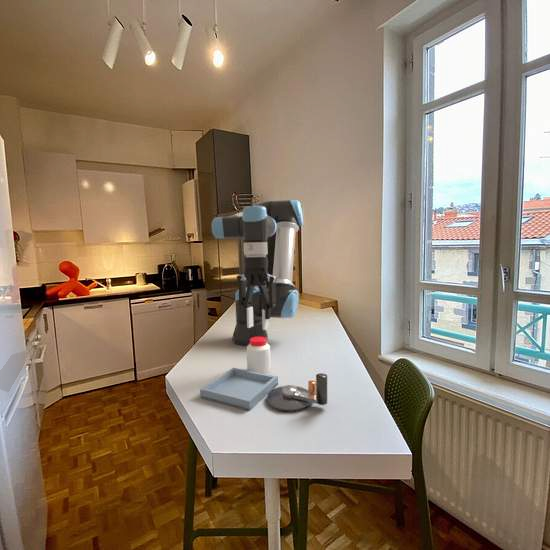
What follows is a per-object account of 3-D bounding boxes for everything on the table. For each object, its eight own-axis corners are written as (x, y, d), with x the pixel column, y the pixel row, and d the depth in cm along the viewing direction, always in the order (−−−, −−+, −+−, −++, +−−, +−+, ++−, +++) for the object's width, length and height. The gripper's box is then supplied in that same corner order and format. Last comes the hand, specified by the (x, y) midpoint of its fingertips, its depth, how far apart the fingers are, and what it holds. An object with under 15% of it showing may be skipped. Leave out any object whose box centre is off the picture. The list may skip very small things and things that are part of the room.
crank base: (259, 405, 82) (258, 386, 81) (279, 386, 92) (279, 369, 92) (304, 417, 76) (304, 396, 75) (320, 395, 87) (320, 377, 86)
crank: (279, 396, 83) (279, 371, 82) (286, 390, 87) (285, 365, 86) (324, 407, 78) (324, 379, 77) (329, 399, 81) (329, 373, 80)
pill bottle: (262, 378, 98) (261, 344, 97) (242, 373, 102) (241, 340, 101) (275, 369, 105) (274, 337, 104) (256, 365, 109) (255, 334, 108)
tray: (200, 397, 87) (199, 388, 87) (233, 375, 101) (233, 367, 101) (249, 410, 79) (249, 401, 79) (278, 384, 94) (277, 376, 93)
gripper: (225, 256, 100) (228, 327, 103) (275, 256, 92) (277, 334, 94) (238, 255, 107) (240, 322, 109) (286, 255, 99) (288, 327, 101)
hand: (257, 327), depth 102 cm, fingers open, 5 cm apart
